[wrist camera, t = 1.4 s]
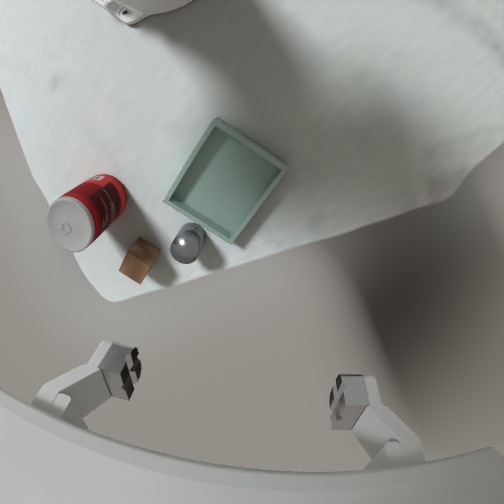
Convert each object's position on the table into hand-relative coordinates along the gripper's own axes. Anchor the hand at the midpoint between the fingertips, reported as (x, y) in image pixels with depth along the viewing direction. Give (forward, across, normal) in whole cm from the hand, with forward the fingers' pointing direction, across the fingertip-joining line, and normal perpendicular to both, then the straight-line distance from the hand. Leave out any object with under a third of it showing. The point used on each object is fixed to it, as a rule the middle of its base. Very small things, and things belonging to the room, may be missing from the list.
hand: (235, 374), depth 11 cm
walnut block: (+33, +18, +14) cm, 40 cm away
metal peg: (+33, +10, +10) cm, 36 cm away
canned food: (+32, +24, +4) cm, 41 cm away
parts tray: (+33, +6, +1) cm, 33 cm away
